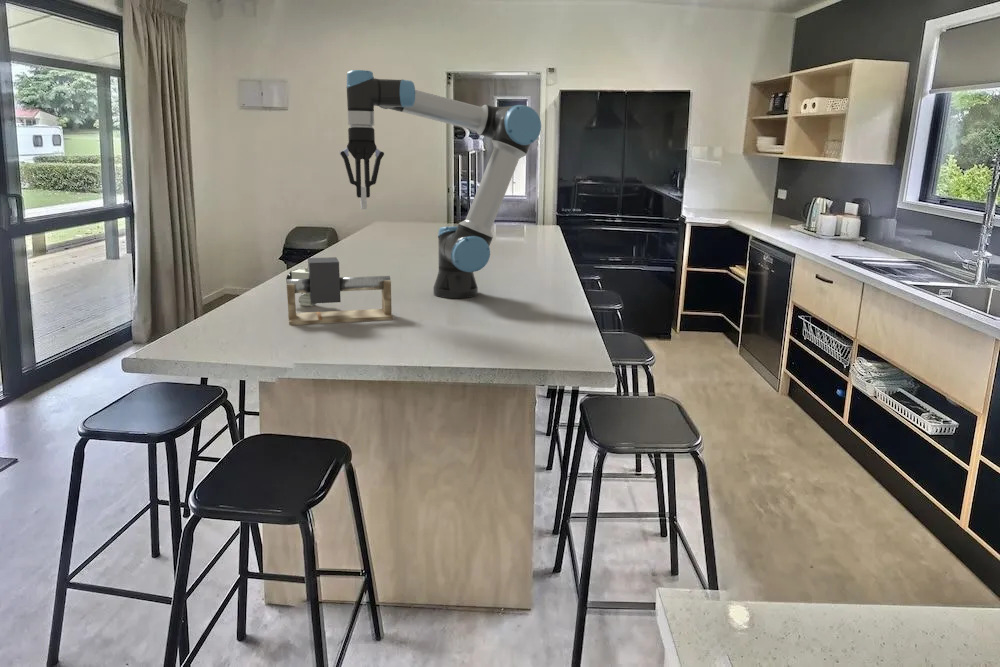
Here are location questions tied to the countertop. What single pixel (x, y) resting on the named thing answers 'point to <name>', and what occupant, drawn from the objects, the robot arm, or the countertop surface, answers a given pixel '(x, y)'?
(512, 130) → the robot arm
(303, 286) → the pipe
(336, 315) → the pipe rig
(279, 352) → the countertop surface
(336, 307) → the countertop surface
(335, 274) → the collar
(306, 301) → the pneumatic valve
